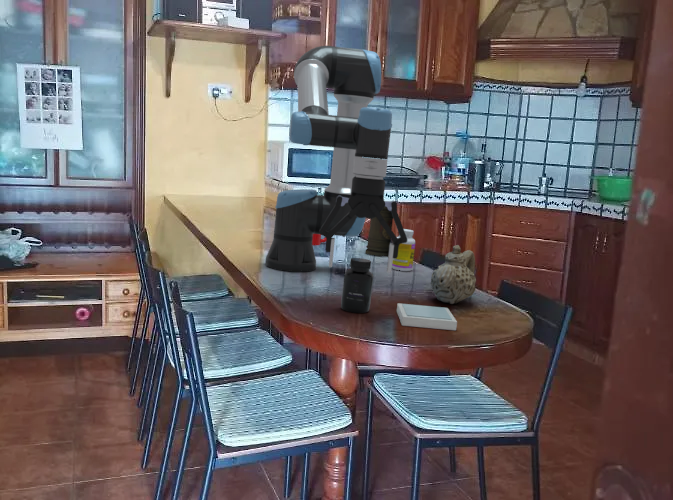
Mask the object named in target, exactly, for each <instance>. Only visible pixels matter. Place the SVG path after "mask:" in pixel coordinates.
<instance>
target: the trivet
mask: <svg viewBox="0 0 673 500" xmlns="http://www.w3.org/2000/svg"><path fill="white" fill-rule="evenodd" d="M396 305H397V307H396V314H397V317H398V318H399V321H400V324H401V326H403V327H413V328H414V327H417V328H425V329H436V330H437V329H438V330H445V331H446V330H448V331H457V327H458V321H457V320H456V317H454V315H453V314H452V312H451V311H450V309H449V308H448V307H441V306H431V305H421V304H412V303H411V304H410V303H409V304H408V303H400V302H399V303H397V304H396Z"/></svg>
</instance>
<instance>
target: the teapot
mask: <svg viewBox="0 0 673 500" xmlns="http://www.w3.org/2000/svg"><path fill="white" fill-rule="evenodd" d="M461 250H462V249H461V247H460V245H459V244H457V245H453V246H452V251H450V252H448V253H446V254H445V257H444V260H445V261H444V262H443V263H442V264H440V265H438V267H437V268H436V269H434V270H433V272H432V273H431V278H430V285H431V286H432V291H433V293H434V295H435V297H436V300H438V301H439V302H442V303H446V304H450V305H454V304H458V303H460V302H461V301H465V300H466V299H467V298H469V297H471V296H472V295H474V294H475V292H476V282H477V279H476V276H475V271H476V269H475V268H476V256H475V253H474V252H473V251H472V250H470V249H468V250H465V251H463V252H461Z"/></svg>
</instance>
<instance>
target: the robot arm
mask: <svg viewBox="0 0 673 500" xmlns="http://www.w3.org/2000/svg"><path fill="white" fill-rule="evenodd" d="M293 78H294V83H295V84H296V86H297V111H294V112H292V114H291V116H290V124H289V141H290V142H291V143H293V144H297V145H303V146H313V147H324V148H325V147H327V148H333V153H332V161H331V162H332V163H331V173H330V183H329V185H328V186H327V187H325V188H324V190H323V194H322V195H321V194H320V195H319V194H318V191H317V190H316V189H312V188H311V189H307V188H304V189H303V188H299V189H290V190H289V189H288V190H287V189H285V190H282V191H280V192H278V194H277V197H276V203H275V216H274V217H275V219H274V227H273V228H274V230H273V239H272V242H271V245H270V247H269V249H268V252H267V254H266V256H265V266H266V267H268V268H271V269H274V270H279V271H284V272H285V271H286V272H296V273H297V272H298V273H299V272H302V273H304V272H311V271H315V270H316V268H317V259H316V254H315V250H314V245H312V239H313V234H320V235H321V236H323V237H324V238H325V237H326V242H325V252H326V253H329V260H328V268H333V260H334V253H335V252H334V251H335V241H336V238H335V237H338V236H339V237H343V238H344V237H345V238H346V237H349V238H350V237H353V238H354V237H358V236H359V235H360V234H361V232H362V231H363V228H364V226H365V223H366V219H370V220H371V219H372V218H375V217H377V219H378V220H379V222H380V223H381V225H382V226H383V228H384V229H385V231H386V232H387V233H388V235H389V236H390V238H391V241H392V242H390V246H389V255H388V256H387V257H388V258H387V266H386V272H387V273H388V274H391V273H392V269H393V268H392V260H393V258H397V257H398V248H399V245H400V244H401V243H406V242H407V237H406V234H405V232H404V229H405V228H404V226H403V224H402V221H401V219H400V216H399V213H398V203H397V201H395V200H392V201H385V199H384V198H385V197H384V196H385V188H386V181H385V179H384V178H385V177H386V176H387V167H388V157H389V148H390V140H391V134H392V128H393V124H392V122H393V113H392V111H391V110H390V109H387V108H382V107H381V108H380V107H368V106H369V104H371V102H373V101H374V97H375V95H377V94H380V92H381V84H382V63H381V58H380V56H379V54H378V53H377V52H375V51H372V50H368V49H363V48H351V47H350V48H349V47H342V46H332V45H321V46H316V47H313V48H311V49H310V50H308V51H307V52H305V53H303V54H302V55H301V57H299V59H298V60H297V62H296V63H295V65H294V70H293ZM327 89H333V96H334V98H335V99H336V101H337V111H336V115H333V114H329V103H328V93H327V92H328V91H327ZM385 206H386V207H387V208H388V210H389V211H391V213H392V216H393V221H394V224H395V227H396V229H397V232H398V236H399V235H400V238H397V237H398V236H396V234H395V233H394V232H393V229H392V230H391V229H390V227H389V226H388V224H387V223H386V221H385V220H384V218H383V217H382V215H381V214H380V211H381V210H382V209H383V208H384V207H385ZM334 236H335V237H334Z"/></svg>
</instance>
